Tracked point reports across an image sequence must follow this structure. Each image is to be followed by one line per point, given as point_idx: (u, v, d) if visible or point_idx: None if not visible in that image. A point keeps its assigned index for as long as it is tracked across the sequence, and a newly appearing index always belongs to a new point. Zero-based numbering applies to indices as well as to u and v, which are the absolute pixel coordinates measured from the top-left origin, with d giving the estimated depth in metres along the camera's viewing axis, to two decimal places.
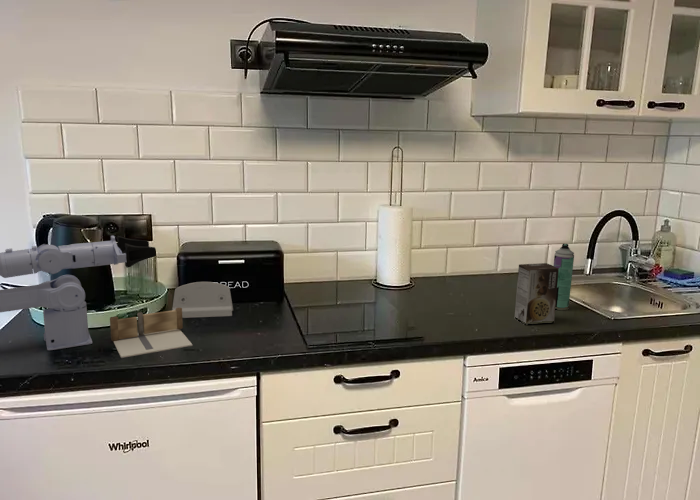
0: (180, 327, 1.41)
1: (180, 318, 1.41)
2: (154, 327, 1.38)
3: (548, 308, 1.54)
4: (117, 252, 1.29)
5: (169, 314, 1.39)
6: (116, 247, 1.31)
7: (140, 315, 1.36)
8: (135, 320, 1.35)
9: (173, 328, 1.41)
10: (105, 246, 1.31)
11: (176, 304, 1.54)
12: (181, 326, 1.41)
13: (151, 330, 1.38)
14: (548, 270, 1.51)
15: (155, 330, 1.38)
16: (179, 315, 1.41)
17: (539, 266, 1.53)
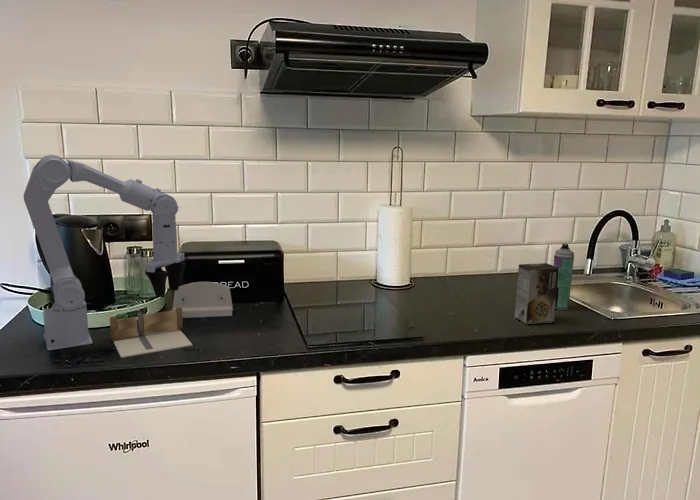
0: (180, 327, 1.41)
1: (180, 318, 1.41)
2: (154, 327, 1.38)
3: (548, 308, 1.54)
4: (157, 264, 1.35)
5: (169, 314, 1.39)
6: (164, 263, 1.37)
7: (140, 315, 1.36)
8: (135, 320, 1.35)
9: (173, 328, 1.41)
10: (168, 253, 1.38)
11: (176, 304, 1.54)
12: (181, 326, 1.41)
13: (151, 330, 1.38)
14: (548, 270, 1.51)
15: (155, 330, 1.38)
16: (179, 315, 1.41)
17: (539, 266, 1.53)
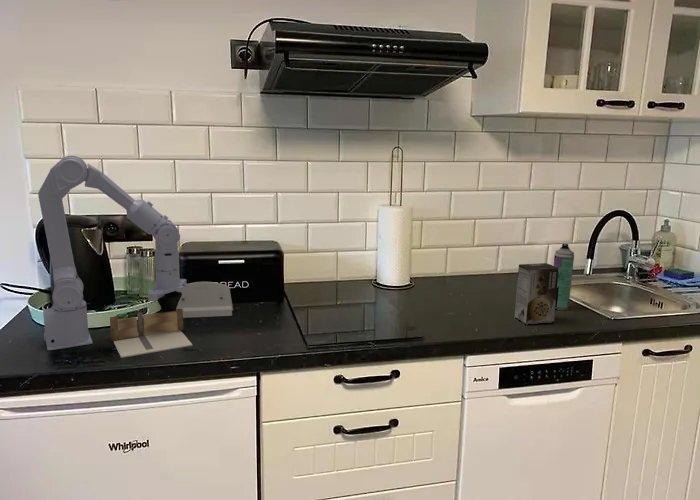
0: (180, 328, 1.41)
1: (180, 319, 1.40)
2: (154, 327, 1.38)
3: (548, 308, 1.54)
4: (159, 293, 1.34)
5: (169, 314, 1.39)
6: (167, 292, 1.36)
7: (140, 315, 1.36)
8: (135, 320, 1.35)
9: (173, 329, 1.40)
10: (170, 281, 1.37)
11: None
12: (182, 327, 1.41)
13: (151, 331, 1.38)
14: (548, 270, 1.51)
15: (155, 330, 1.38)
16: (179, 316, 1.40)
17: (539, 266, 1.53)
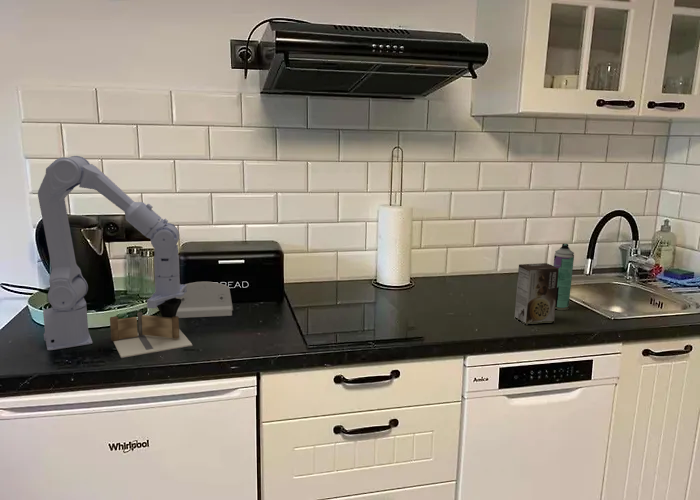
0: (174, 337, 1.35)
1: (174, 327, 1.34)
2: (151, 330, 1.36)
3: (548, 308, 1.54)
4: (159, 300, 1.29)
5: (165, 320, 1.34)
6: (166, 298, 1.31)
7: (138, 315, 1.36)
8: (135, 320, 1.35)
9: (168, 336, 1.35)
10: (170, 287, 1.32)
11: None
12: (175, 336, 1.35)
13: (148, 333, 1.36)
14: (548, 270, 1.51)
15: (152, 333, 1.36)
16: (173, 324, 1.34)
17: (539, 266, 1.53)
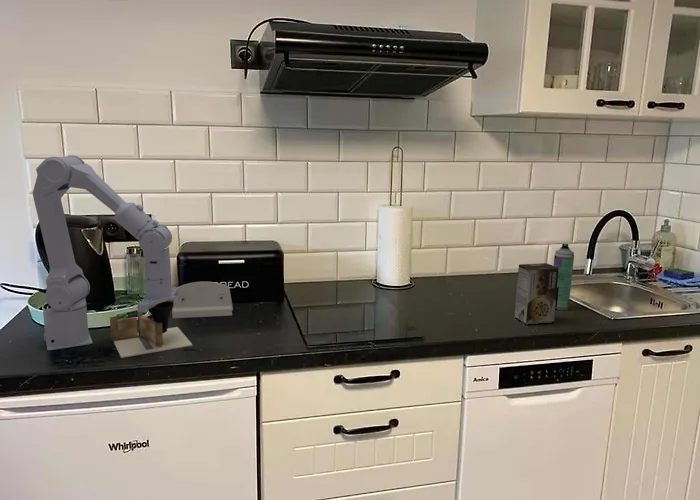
0: (156, 343, 1.30)
1: (156, 334, 1.30)
2: (144, 332, 1.34)
3: (548, 308, 1.54)
4: (150, 304, 1.26)
5: (151, 325, 1.31)
6: (158, 302, 1.27)
7: None
8: (135, 320, 1.35)
9: (153, 341, 1.32)
10: (161, 291, 1.28)
11: (176, 304, 1.54)
12: (157, 343, 1.30)
13: (143, 334, 1.35)
14: (548, 270, 1.51)
15: (145, 335, 1.34)
16: (155, 330, 1.30)
17: (539, 266, 1.53)
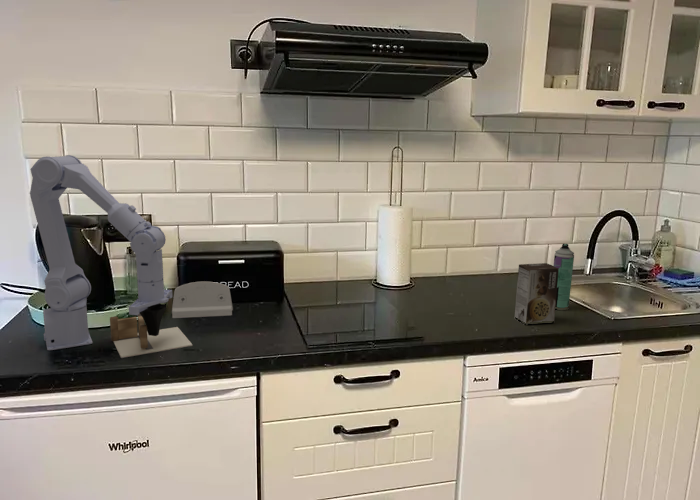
0: (140, 345, 1.28)
1: (140, 336, 1.28)
2: (139, 333, 1.34)
3: (548, 308, 1.54)
4: (141, 306, 1.24)
5: None
6: (149, 304, 1.26)
7: None
8: (135, 320, 1.35)
9: None
10: (153, 293, 1.27)
11: (176, 304, 1.54)
12: (141, 345, 1.28)
13: (139, 335, 1.35)
14: (548, 270, 1.51)
15: None
16: (139, 332, 1.28)
17: (539, 266, 1.53)
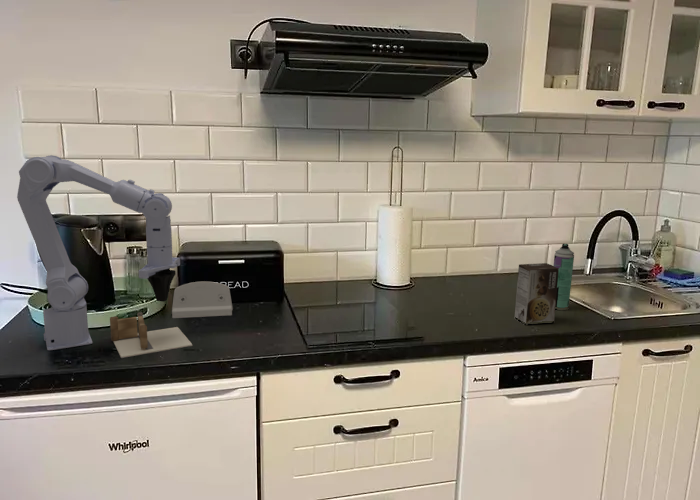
0: (140, 346, 1.28)
1: (140, 336, 1.28)
2: (139, 333, 1.34)
3: (548, 308, 1.54)
4: (150, 270, 1.27)
5: None
6: (159, 269, 1.29)
7: None
8: (135, 320, 1.35)
9: None
10: (162, 258, 1.30)
11: (176, 304, 1.54)
12: (141, 345, 1.28)
13: (139, 335, 1.35)
14: (548, 270, 1.51)
15: None
16: (139, 332, 1.28)
17: (539, 266, 1.53)
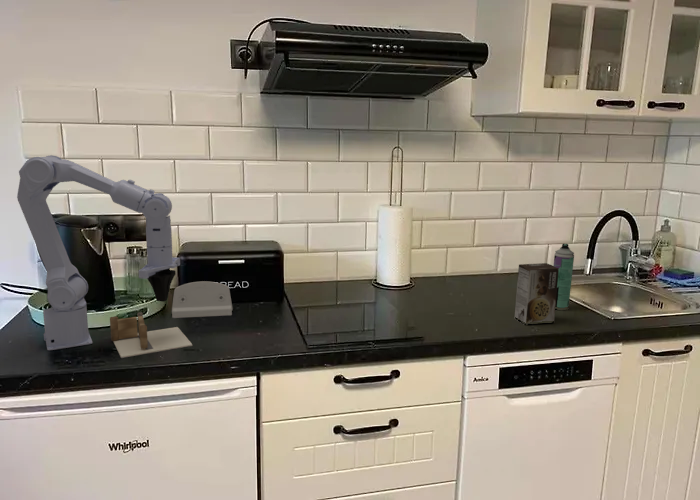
0: (140, 346, 1.28)
1: (140, 336, 1.28)
2: (139, 333, 1.34)
3: (548, 308, 1.54)
4: (150, 270, 1.27)
5: None
6: (159, 269, 1.29)
7: None
8: (135, 320, 1.35)
9: None
10: (162, 258, 1.30)
11: (176, 304, 1.54)
12: (141, 345, 1.28)
13: (139, 335, 1.35)
14: (548, 270, 1.51)
15: None
16: (139, 332, 1.28)
17: (539, 266, 1.53)
